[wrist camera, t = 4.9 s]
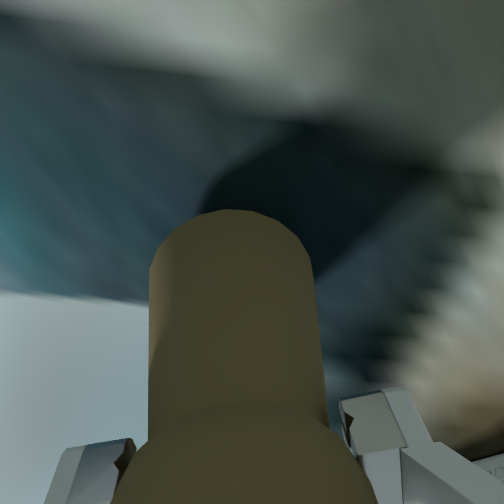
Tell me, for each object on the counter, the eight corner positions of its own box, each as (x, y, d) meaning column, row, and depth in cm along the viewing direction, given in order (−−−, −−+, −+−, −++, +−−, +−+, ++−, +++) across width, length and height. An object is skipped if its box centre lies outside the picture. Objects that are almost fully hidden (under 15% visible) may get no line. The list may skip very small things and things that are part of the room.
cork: (164, 191, 15) (66, 503, 5) (336, 229, 16) (514, 550, 6) (136, 337, 18) (35, 729, 8) (287, 362, 19) (361, 737, 9)
